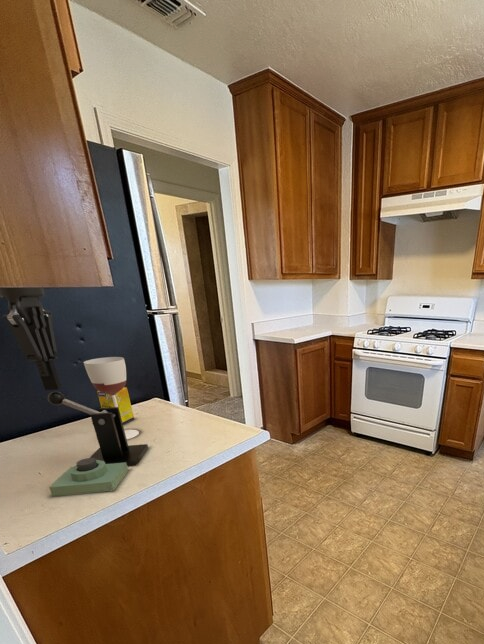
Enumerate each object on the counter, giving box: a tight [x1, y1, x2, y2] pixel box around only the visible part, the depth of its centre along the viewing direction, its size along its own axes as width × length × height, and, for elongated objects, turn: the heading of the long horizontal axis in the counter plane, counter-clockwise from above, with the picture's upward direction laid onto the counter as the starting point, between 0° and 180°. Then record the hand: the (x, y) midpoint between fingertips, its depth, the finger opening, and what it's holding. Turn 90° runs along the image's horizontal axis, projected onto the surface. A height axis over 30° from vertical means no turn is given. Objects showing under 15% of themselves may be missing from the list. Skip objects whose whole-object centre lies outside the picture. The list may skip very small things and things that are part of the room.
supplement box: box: [96, 386, 135, 426], centre depth 112 cm, size 6×6×11 cm
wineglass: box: [83, 356, 140, 440], centre depth 99 cm, size 9×10×22 cm
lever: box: [47, 391, 116, 418], centre depth 84 cm, size 14×3×3 cm, turn 99°
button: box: [75, 457, 98, 472], centre depth 77 cm, size 4×4×2 cm
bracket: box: [89, 407, 149, 467], centre depth 87 cm, size 12×10×13 cm
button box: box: [49, 460, 129, 497], centre depth 78 cm, size 12×9×4 cm
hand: (53, 388), depth 81 cm, fingers closed
